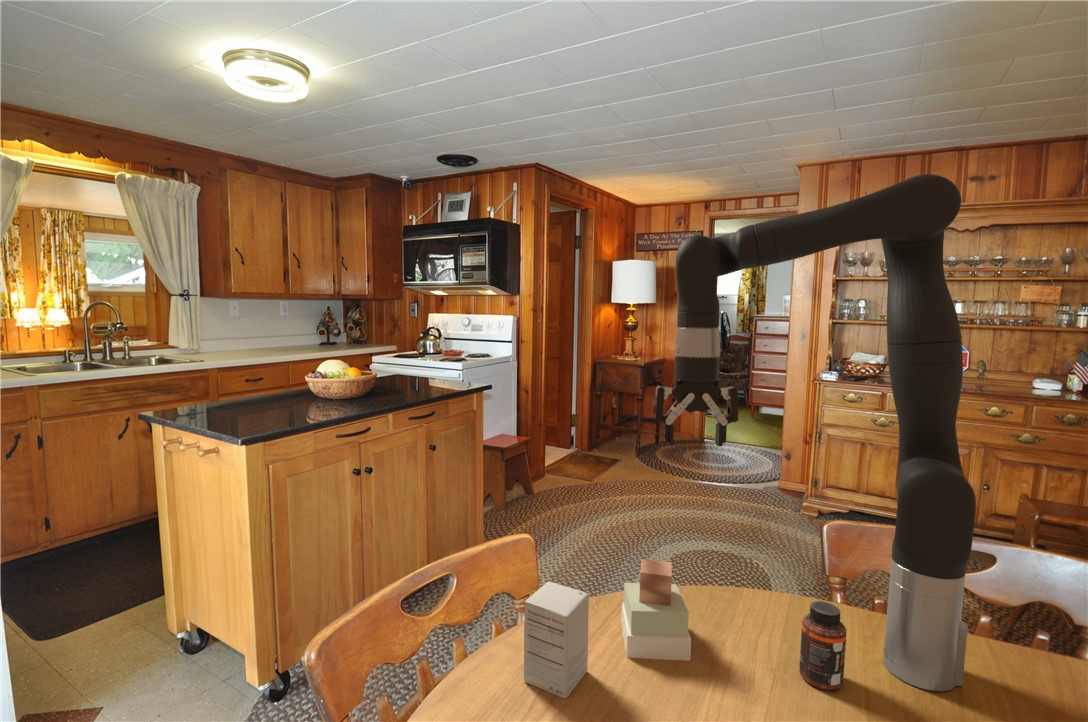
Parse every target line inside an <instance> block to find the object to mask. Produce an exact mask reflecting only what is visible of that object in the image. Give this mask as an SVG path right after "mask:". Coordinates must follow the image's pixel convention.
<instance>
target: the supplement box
mask: <svg viewBox="0 0 1088 722" xmlns="http://www.w3.org/2000/svg"><path fill="white" fill-rule="evenodd" d="M589 596H590V594H589V593H587V592H585V591H582V590H579V589H576V588H572V587H568V586H566V585H561V584H560V583H555V582H552V581H547V582H546V583H545V584H544V585H542V586H541V587H540V588H539V589H537V591H535V592H534V593H533V594H532V595H530V596H529V597H528V598H527V599H526V600H524V610H523V611H524V614H523V615H524V620H523V621H524V622H523V623H524V625H523V626H524V628H523V629H524V630H523V635H524V636H523V681H524V682H525V683H527V684H529V685H531V686H534V687H537V688H538V689H541V690H544V691H545V692H547V693H551V694H552V695H555V696H557V697H559V698H563V699H568V697H569V695H570V694H571V693H572V692H573V691H574V689H575V688H576V687H577V686H578V683H580V682H581V680H582V679H583V677H584V676H585V675H586V673H587V672H588V670H589V669H588V665H589V664H588V662H589V661H588V660H589V658H588V656H589V655H588V654H589V649H588V648H589V609H590V607H589V606H590V603H589V602H590V597H589Z"/></svg>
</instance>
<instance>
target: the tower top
mask: <svg viewBox="0 0 1088 722" xmlns="http://www.w3.org/2000/svg"><path fill="white" fill-rule="evenodd" d="M623 583H624V584H623V602H624V608H625V612H626V616H627V620H628V625H629V629H630V633H631V635H659V636H688V632H689V610H688V608H687V605H686V604H685V602H684V599H683V596H682V595H681V592H680V590H679V588H678V585H677V584H676V583H672V585H671V606H667V605H659V604H652V603H645V602H639V595H640V582H623Z"/></svg>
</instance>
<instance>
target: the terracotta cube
mask: <svg viewBox="0 0 1088 722" xmlns="http://www.w3.org/2000/svg"><path fill="white" fill-rule="evenodd" d="M640 562H641V564H640V571H639V572H640V573H639V575H640V576H639V583H640V595H639V602H645V603H652V604H659V605H667V606H671V585H672V584H673V583H672V581H673V580H672V579H673V572H672V571H673V570H672V569H673V567H672V561H671V562H670V561H663V560H661V561H660V560H654V559H645V558H641V561H640Z"/></svg>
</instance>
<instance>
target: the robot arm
mask: <svg viewBox="0 0 1088 722" xmlns="http://www.w3.org/2000/svg"><path fill="white" fill-rule="evenodd" d="M961 205H962V196H961V192H960V190H959V189H958V187H957V185H956V184H955V183H954V182H953V180H950V179H948V178H947V177H944V176H942V175H939V174H931V173H929V174H928V173H927V174H926V173H925V174H924V173H923V174H918V175H914V176H911V177H908V178H906V179H904V180H902V181H900V182H896V183H895V184H892V185H890V186H887V187H885V188H882V189H880V190H876V191H875V192H872V193H869V194H866V195H864V196H860V197H857V198H854V199H851V200H849V201H844V202H841V203H838V204H834V205H830V206H827V207H823V208H819V209H815V210H810V211H805V212H801V213H797V214H793V215H788V216H787V215H786V216H784V217H783V216H782V217H780V218H778V217H777V218H774V219H772V220H766V221H761V222H756V223H754V224H749V225H746V226H743V227H741V228H738V229H737V230H736V231H735V232H732V233H727V234H723V235H719V236H715V237H711V238H710V237H709V236H707V235H701V234H695V235H691V236H689V237H687V238H685V239H684V240H683V241H682V243H681V244H680V245H679V247H678V249H677V252H676V257H675V277H676V287H677V288H676V289H677V296H678V302H677V315H676V316H677V317H676V318H677V320H676V333H675V340H674V341H675V342H674V370H673V371H674V372H673V373H674V376H673V385H672V387H669V386H668V387H667V386H661V385H657V386H656V387H655V390H654V391H655V392H654V403H653V411H652V412H653V414H652V415H653V418H654V419H655V420H656V421H657V422H661V423H663V440H664V442H665V443H666V444H667V446H669V447H670V446H671V447H673V446H674V433H675V432H674V430H675V428H674V427H675V425H674V422H675V420H676V419H677V418H678V417H679V416H680V415H681V414H682V413H683V411H685V412H688V413H693V412H700V413H706V412H707V411H709V413H710V414H711V415H712V416H713V417H714V419H715V420H716V422H717V423H715V434H714V435H715V440H714V441H715V443H714V444H715V446H716V447H723V444H726V442H727V431H728V430H727V429H728V428H727V426H728V425H729V424H732V423H736V422H738V421H739V396H738V395H739V392H738V389H737V388H736V387H733V386H732V385H729V386H727V387H720V383H719V380H720V358H721V357H720V355H721V339H720V338H721V337H720V311H721V310H720V309H721V308H720V299H719V296H718V281H719V280H718V277H721V276H725V275H728V274H729V275H730V274H732V273H735V272H738V271H741V270H742V271H743V270H745V269H755V268H759V267H760V268H761V267H765V266H770V265H775V264H778V263H779V264H780V263H784V262H788V261H792V260H796V259H801V258H804V257H807V256H811V255H814V254H816V253H817V254H818V253H820V252H824V251H827V250H830V249H833V248H836V247H841V246H844V245H849V244H855V243H859V242H864V241H869V240H870V241H872V240H881V244H882V250H883V256H884V261H885V267H886V268H885V269H886V275H887V294H886V295H887V297H886V343H887V344H886V348H887V360H888V361H887V362H888V363H887V364H888V372H889V379H890V386H891V390H892V391H891V393H892V398H893V402H894V406H895V411H896V416H897V421H898V455H897V456H898V457H897V458H898V459H897V468H896V478H895V487H896V492H897V493H896V494H897V505H896V514H895V515H896V516H895V529H894V537H893V541H892V545H891V557H890V559H891V561H890V569H889V570H890V571H889V585H888V586H889V587H888V594H887V595H888V597H887V598H888V599H887V607H886V608H887V611H886V621H885V623H886V624H885V634H884V647H883V664H884V666H885V667H886V669H887V670H888V671H889V672H890V673H891V674H892V675H893V676H895V677H896V678H898V679H900V680H901V681H903V682H905V683H907V684H909V685H911V686H914V687H917V688H920V689H923V690H927V691H933V692H946V691H951V690H953V689H954V688H955V687H963V684H964V673H965V664H966V663H965V662H966V653H967V641H968V632H969V631H968V630H969V627H968V625H967V623H966V622H964V621H963V620H962V616H963V605H964V603H963V602H964V596H965V595H964V593H965V592H964V591H965V583H966V582H965V581H966V573H967V565H968V562H969V561H970V558H971V554H972V548H973V538H974V531H975V523H976V511H977V504H976V503H977V500H976V494H975V493H976V492H975V491H974V488H973V487H972V485H971V483H970V482H969V480H968V479H967V478H966V476H965V474H964V471H963V467H962V461H961V457H960V451H959V444H958V437H957V415H958V411H959V405H960V399H961V394H962V393H961V392H962V387H963V386H962V385H963V377H964V375H963V374H964V373H963V372H964V358H963V357H964V355H963V342H962V340H963V339H962V330H961V324H960V320H959V317H958V313H957V310H956V307H955V304H954V303H955V302H954V301H953V298H952V295H951V293H950V290H949V288H948V287H949V286H948V284H947V280H946V276H945V270H944V268H945V267H944V238H945V231H946V229H947V228H948V227H950V225H951V224H952V223H953V222H954V220H955V219H956V218H957V216H958V214H959V212H960V210H961ZM670 394H671V395H672V396H673V398H674V399H675V402H674V403H673V404H672V405H671V407H670V408H669V410H668V411H667V413H665V414H664V413H663V412H664V405H665V400H667V399H668V398H669V395H670ZM721 395H722V396H723V399H724V400H726V414H725V415H724V414H723V413H722V411H721V409H720V407H718V405H717V404H716V402H717V400H718V399H720V397H721Z"/></svg>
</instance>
